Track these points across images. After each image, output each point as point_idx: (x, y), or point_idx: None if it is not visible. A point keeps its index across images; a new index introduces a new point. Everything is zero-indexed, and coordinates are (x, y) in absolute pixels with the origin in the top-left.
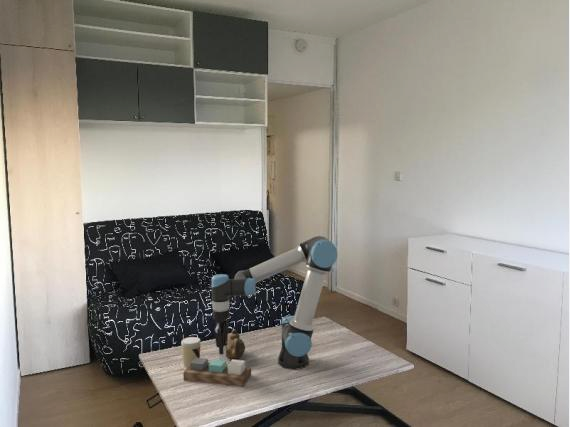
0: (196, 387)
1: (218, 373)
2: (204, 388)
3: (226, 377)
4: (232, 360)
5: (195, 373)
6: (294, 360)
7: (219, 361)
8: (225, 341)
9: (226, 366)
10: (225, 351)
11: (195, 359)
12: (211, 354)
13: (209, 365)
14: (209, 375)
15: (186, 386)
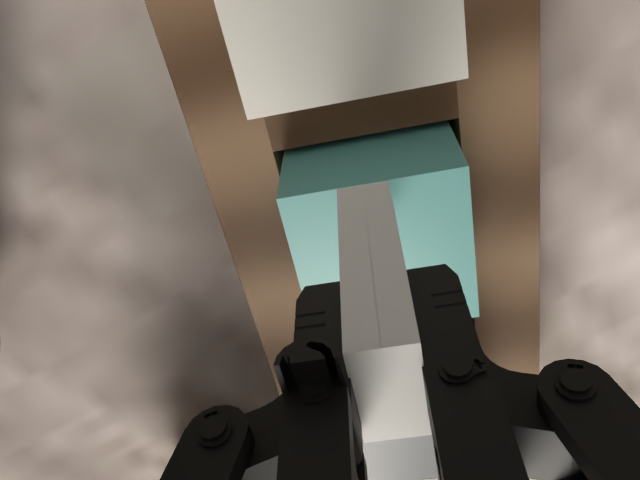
0: (622, 234)
1: (482, 149)
2: (630, 161)
3: (535, 3)
4: (282, 96)
5: (538, 347)
6: None
7: (338, 260)
8: (319, 444)
9: (262, 166)
10: (351, 271)
11: (397, 471)
12: (7, 429)
13: (476, 304)
14: (537, 217)
15: (618, 309)
